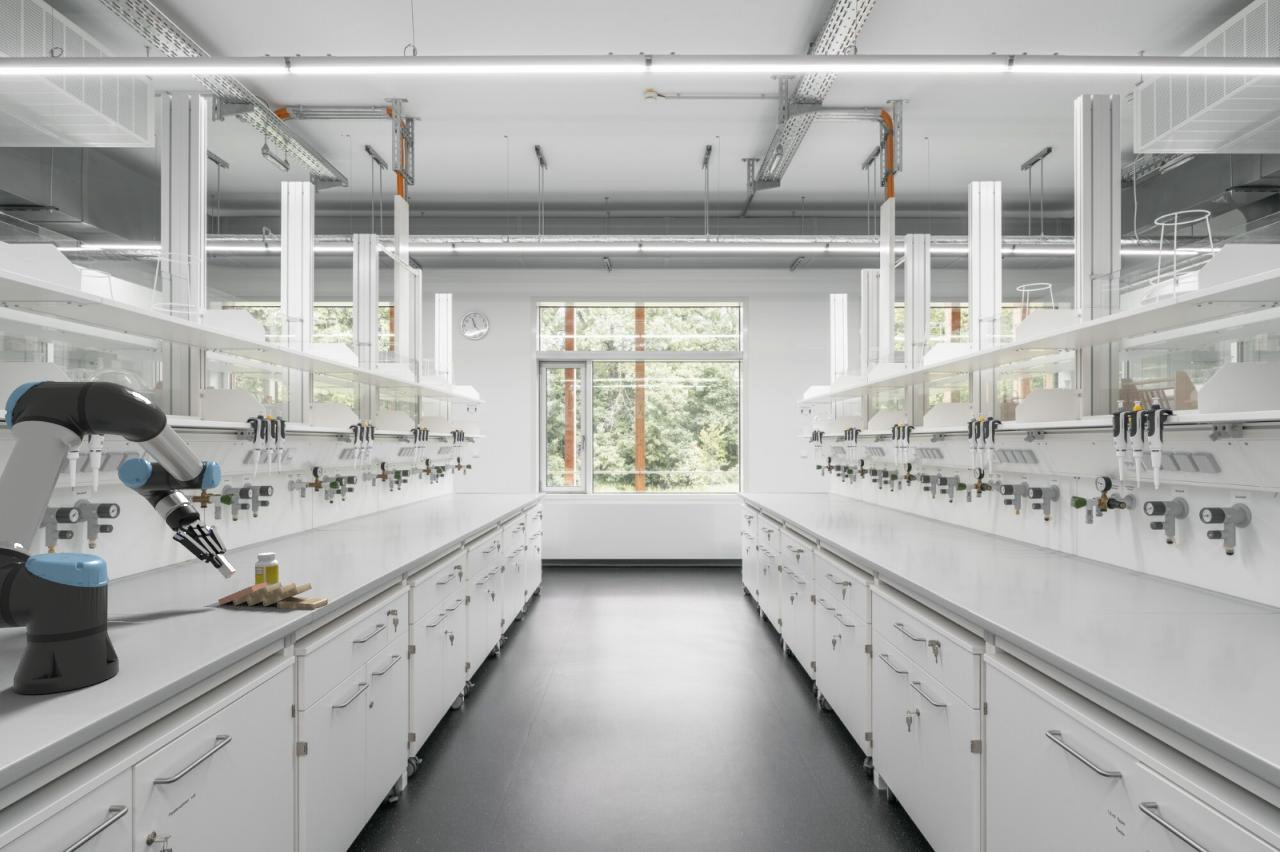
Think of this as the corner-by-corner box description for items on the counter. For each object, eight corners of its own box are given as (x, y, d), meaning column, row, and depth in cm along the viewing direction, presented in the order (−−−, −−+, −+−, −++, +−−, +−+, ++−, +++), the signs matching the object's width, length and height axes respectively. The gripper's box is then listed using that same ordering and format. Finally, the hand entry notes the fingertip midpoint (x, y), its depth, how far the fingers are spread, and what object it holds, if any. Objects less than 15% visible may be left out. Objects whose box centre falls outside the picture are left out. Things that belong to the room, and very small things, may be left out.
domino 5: (277, 601, 181) (314, 604, 179) (291, 596, 187) (327, 599, 185) (277, 607, 181) (314, 610, 179) (291, 602, 187) (327, 605, 185)
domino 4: (262, 601, 182) (296, 587, 180) (276, 596, 188) (310, 583, 186) (264, 606, 182) (298, 593, 180) (278, 601, 188) (312, 588, 186)
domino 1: (218, 599, 185) (251, 586, 183) (234, 595, 190) (266, 581, 188) (220, 605, 185) (253, 591, 183) (235, 600, 190) (268, 587, 188)
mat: (203, 607, 184) (203, 606, 184) (229, 599, 193) (229, 598, 193) (275, 610, 179) (275, 609, 179) (299, 602, 188) (298, 601, 188)
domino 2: (232, 600, 184) (265, 586, 182) (248, 595, 189) (280, 582, 187) (234, 605, 184) (267, 592, 182) (249, 601, 189) (282, 587, 187)
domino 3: (246, 600, 183) (280, 587, 181) (261, 596, 189) (294, 582, 187) (248, 606, 183) (282, 592, 181) (263, 601, 188) (296, 588, 186)
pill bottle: (280, 587, 208) (280, 551, 208) (276, 592, 202) (276, 554, 202) (257, 589, 206) (257, 552, 206) (252, 594, 200) (252, 555, 200)
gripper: (190, 519, 198) (240, 579, 194) (149, 525, 185) (203, 589, 181) (205, 501, 197) (256, 560, 193) (166, 505, 184) (220, 569, 181)
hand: (230, 574), depth 187 cm, fingers closed
